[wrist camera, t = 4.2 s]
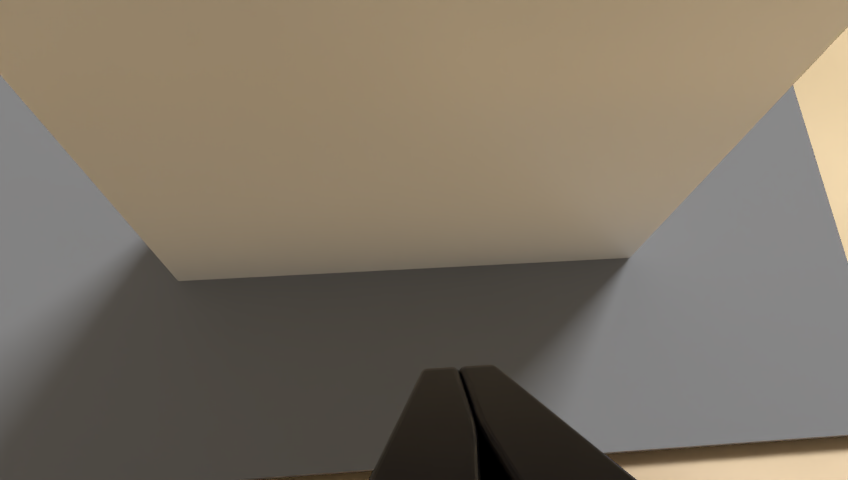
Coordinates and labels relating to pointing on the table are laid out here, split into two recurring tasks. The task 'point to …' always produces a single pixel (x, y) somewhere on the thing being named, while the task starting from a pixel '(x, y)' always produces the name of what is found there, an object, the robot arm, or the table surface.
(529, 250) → the tile
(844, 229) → the table surface
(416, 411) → the robot arm
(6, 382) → the mat
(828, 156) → the table surface
